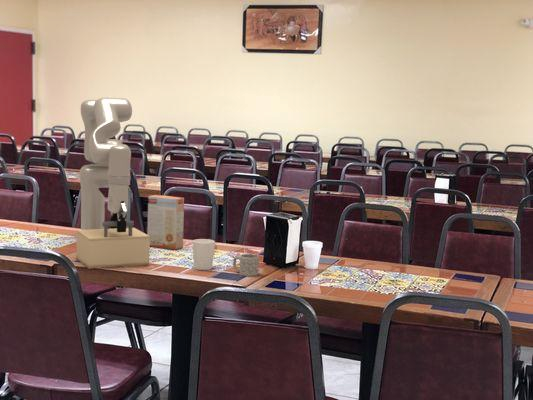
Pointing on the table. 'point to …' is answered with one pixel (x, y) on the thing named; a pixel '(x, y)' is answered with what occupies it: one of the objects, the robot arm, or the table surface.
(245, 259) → the mug
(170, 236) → the cracker box
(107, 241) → the carton
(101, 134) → the robot arm
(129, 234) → the carton lid
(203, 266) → the white cup
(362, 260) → the table surface
